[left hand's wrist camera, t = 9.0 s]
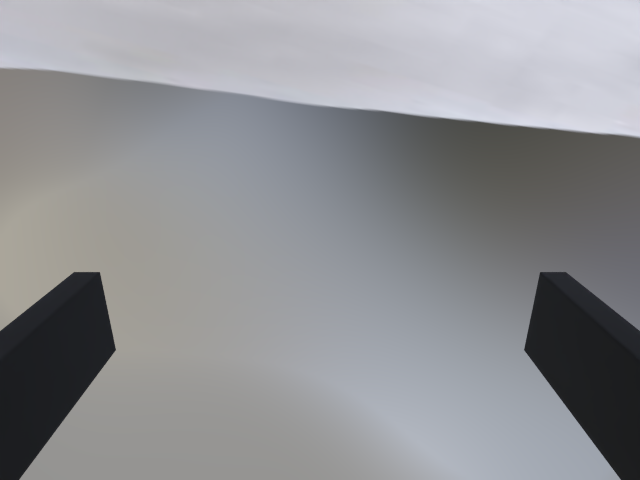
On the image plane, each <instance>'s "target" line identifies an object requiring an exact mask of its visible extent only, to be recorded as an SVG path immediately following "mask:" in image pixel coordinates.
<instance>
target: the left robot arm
mask: <svg viewBox="0 0 640 480" xmlns="http://www.w3.org/2000/svg"><path fill="white" fill-rule="evenodd" d="M115 350H116V349H115V344H114V339H113V334H112V329H111V324H110V319H109V315H108V310H107V305H106V300H105V295H104V290H103V285H102V281H101V276H100V272H74V273H73V274H71V275H70V276H69V277H68V278H66V279H65V280H64V281H62V282H61V283H60V284H59V285H57V286H56V287H55V288H54V289H53V290H51V291H50V292H49V293H48V294H46V295H45V296H44V297H42V298H41V299H40V300H39V301H37V302H36V303H35V304H34V305H32V306H31V307H30V308H29V309H27V310H26V311H25V312H24V313H22V314H21V315H20V316H19V317H17V318H16V319H15V320H14V321H12V322H11V323H10V324H9V325H7V326H6V327H5V328H4V329H2V330H1V331H0V480H19V479H20V478H21V476H22V475H23V474H24V472H25V471H26V470H27V468H28V467H29V466H30V464H31V463H32V462H33V460H34V459H35V458H36V456H37V455H38V454H39V452H40V451H41V450H42V448H43V447H44V445H45V444H46V443H47V441H48V440H49V439H50V437H51V436H52V435H53V433H54V432H55V431H56V429H57V428H58V427H59V425H60V424H61V423H62V421H63V420H64V419H65V417H66V416H67V415H68V413H69V412H70V411H71V409H72V408H73V407H74V405H75V404H76V403H77V401H78V400H79V399H80V397H81V396H82V395H83V393H84V392H85V391H86V389H87V388H88V387H89V385H90V384H91V382H92V381H93V380H94V378H95V377H96V376H97V374H98V373H99V372H100V370H101V369H102V368H103V366H104V365H105V364H106V362H107V361H108V360H109V358H110V357H111V356H112V354H113V353H114V352H115ZM524 350H525V352H526V353H527V354H528V356H529V357H530V358H531V360H532V361H533V362H534V364H535V365H536V366H537V368H538V369H539V370H540V372H541V373H542V374H543V376H544V377H545V378H546V380H547V381H548V382H549V384H550V385H551V387H552V388H553V389H554V390H555V392H556V393H557V395H558V396H559V397H560V399H561V400H562V401H563V403H564V404H565V405H566V407H567V408H568V409H569V411H570V412H571V413H572V415H573V416H574V417H575V419H576V420H577V421H578V423H579V424H580V425H581V427H582V428H583V429H584V431H585V432H586V433H587V435H588V436H589V437H590V439H591V440H592V441H593V443H594V444H595V445H596V447H597V448H598V450H599V451H600V452H601V454H602V455H603V456H604V458H605V459H606V460H607V462H608V463H609V464H610V466H611V467H612V468H613V470H614V471H615V472H616V474H617V475H618V476H619V478H620V479H621V480H640V331H639V330H638V329H636V328H635V327H634V326H633V325H631V324H630V323H629V322H628V321H626V320H625V319H624V318H623V317H621V316H620V315H619V314H618V313H616V312H615V311H614V310H613V309H611V308H610V307H609V306H608V305H606V304H605V303H604V302H603V301H601V300H600V299H599V298H598V297H596V296H595V295H594V294H593V293H591V292H590V291H589V290H588V289H586V288H585V287H584V286H582V285H581V284H580V283H579V282H578V281H576V280H575V279H574V278H572V277H571V276H570V275H569V274H567V273H566V272H540V276H539V281H538V285H537V290H536V295H535V300H534V305H533V310H532V315H531V319H530V325H529V329H528V334H527V339H526V344H525V349H524Z"/></svg>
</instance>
